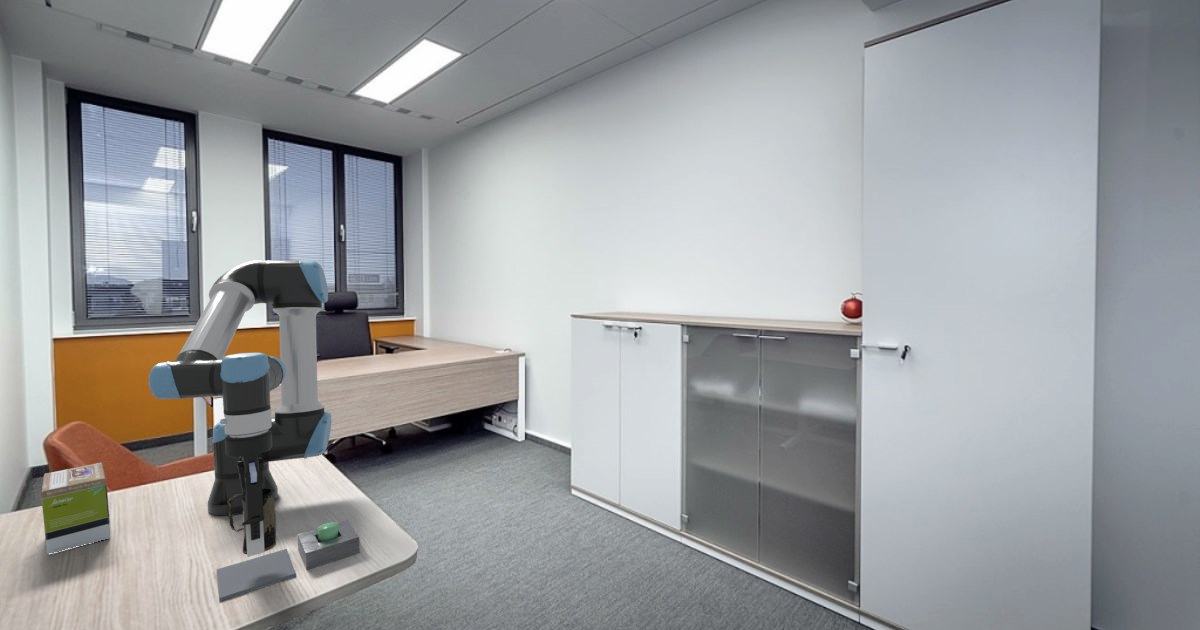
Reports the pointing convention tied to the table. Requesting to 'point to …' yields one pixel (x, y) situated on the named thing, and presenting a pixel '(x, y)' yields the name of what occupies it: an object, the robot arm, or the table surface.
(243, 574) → the mat
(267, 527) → the mug
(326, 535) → the button
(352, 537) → the button box
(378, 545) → the table surface
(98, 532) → the tea box
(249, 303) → the robot arm
